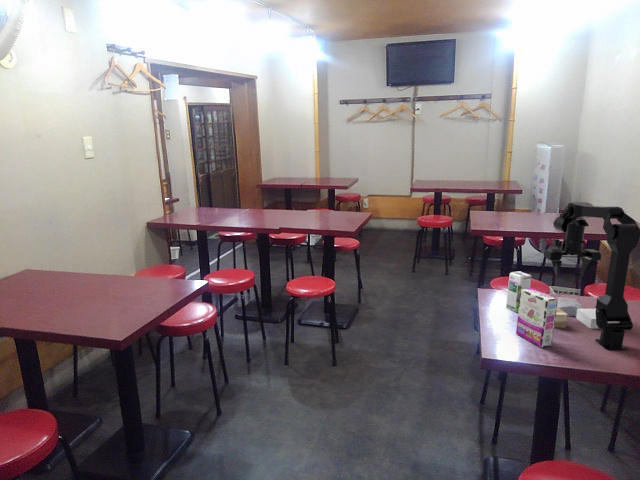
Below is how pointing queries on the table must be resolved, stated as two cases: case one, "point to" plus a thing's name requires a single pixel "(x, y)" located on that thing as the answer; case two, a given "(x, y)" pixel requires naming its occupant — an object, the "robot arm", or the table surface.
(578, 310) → the base block
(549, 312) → the candy bar box
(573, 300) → the stone block
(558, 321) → the birch cube
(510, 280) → the syrup box
